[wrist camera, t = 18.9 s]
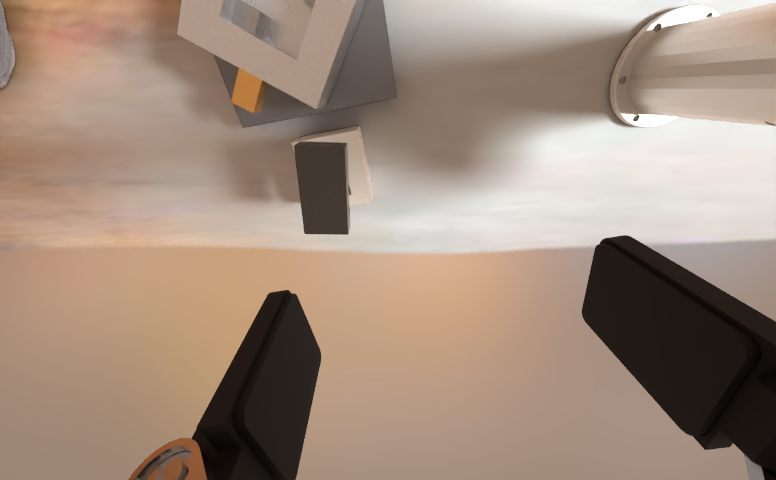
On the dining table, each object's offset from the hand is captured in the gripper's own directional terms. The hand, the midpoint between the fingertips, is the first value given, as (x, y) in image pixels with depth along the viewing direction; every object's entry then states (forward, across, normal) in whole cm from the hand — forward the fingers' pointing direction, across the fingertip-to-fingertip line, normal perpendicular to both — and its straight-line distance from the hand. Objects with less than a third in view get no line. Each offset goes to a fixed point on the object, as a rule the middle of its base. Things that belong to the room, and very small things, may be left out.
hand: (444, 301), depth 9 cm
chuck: (+28, +9, -13) cm, 32 cm away
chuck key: (+31, +8, +2) cm, 32 cm away
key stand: (+32, +8, +2) cm, 33 cm away
